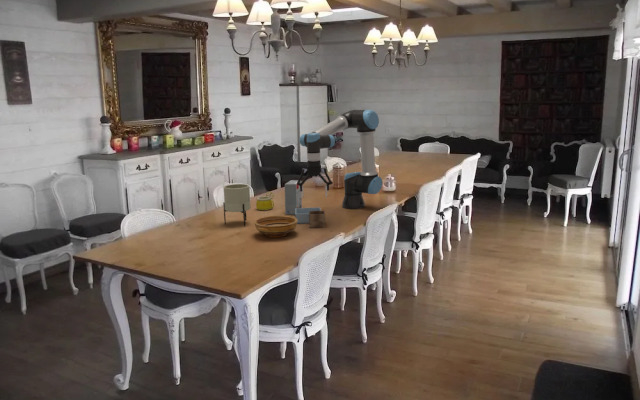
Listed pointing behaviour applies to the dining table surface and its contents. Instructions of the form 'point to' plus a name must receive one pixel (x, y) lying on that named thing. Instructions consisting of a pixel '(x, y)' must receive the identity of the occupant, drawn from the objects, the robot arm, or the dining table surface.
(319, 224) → the walnut crate
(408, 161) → the dining table surface
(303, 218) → the grey crate
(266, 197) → the mug
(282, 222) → the tan woven oval bowl
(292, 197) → the hard drive box
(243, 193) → the planter
